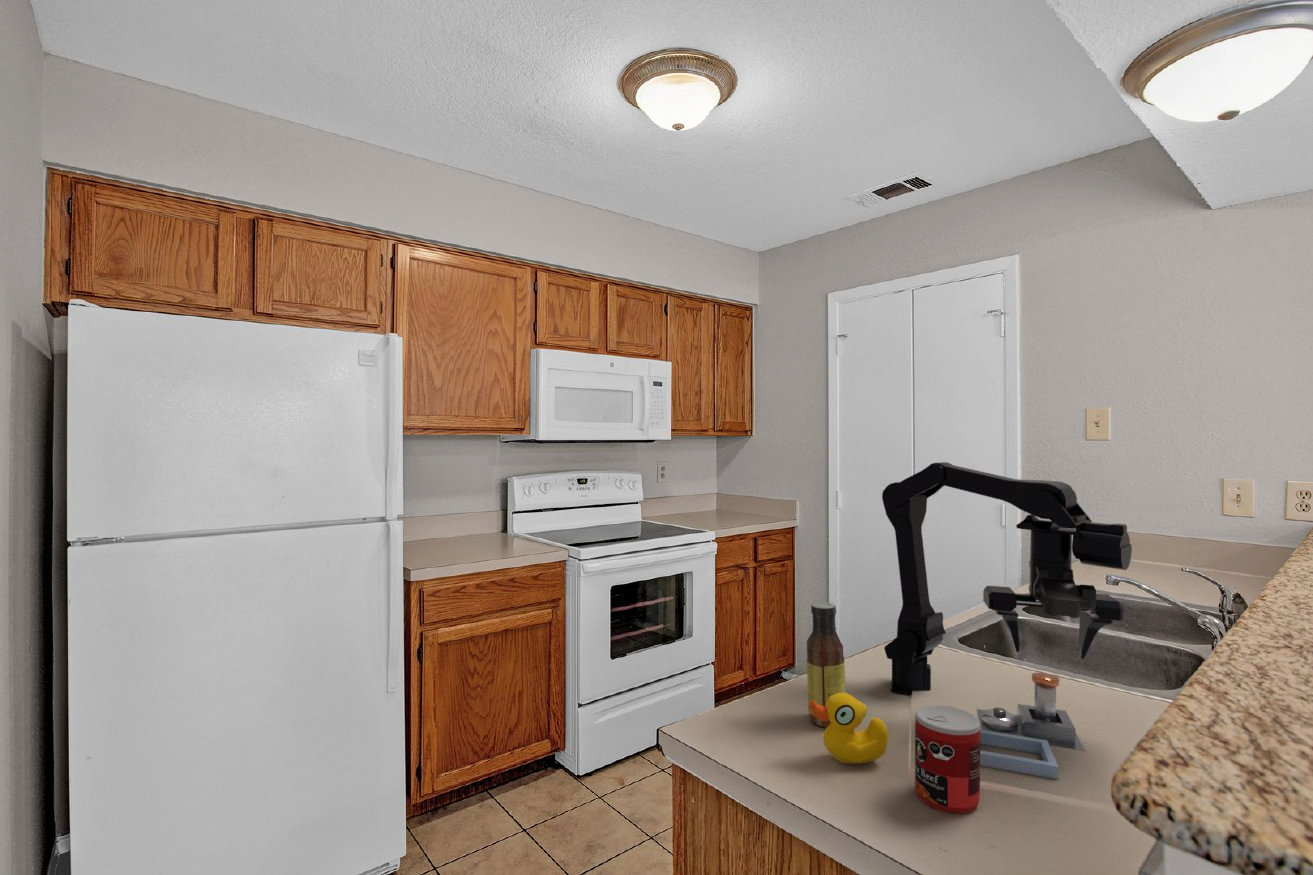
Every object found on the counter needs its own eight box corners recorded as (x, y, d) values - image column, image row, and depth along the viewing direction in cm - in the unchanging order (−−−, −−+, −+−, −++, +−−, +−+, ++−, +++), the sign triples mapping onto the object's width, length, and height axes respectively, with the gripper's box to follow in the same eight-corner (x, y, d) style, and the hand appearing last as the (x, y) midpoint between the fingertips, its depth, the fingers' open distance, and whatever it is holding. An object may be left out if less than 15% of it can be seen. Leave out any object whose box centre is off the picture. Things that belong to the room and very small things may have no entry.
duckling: (812, 768, 93) (812, 700, 93) (807, 750, 99) (807, 686, 99) (892, 772, 92) (892, 703, 92) (882, 753, 98) (883, 688, 98)
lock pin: (1033, 734, 102) (1033, 679, 102) (1029, 724, 106) (1029, 671, 106) (1061, 738, 101) (1061, 683, 101) (1056, 728, 104) (1056, 674, 104)
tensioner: (982, 739, 102) (982, 718, 102) (976, 713, 112) (976, 694, 111) (1085, 756, 97) (1085, 734, 97) (1070, 727, 106) (1070, 707, 106)
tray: (969, 768, 93) (969, 751, 93) (965, 742, 101) (965, 727, 101) (1058, 784, 89) (1058, 766, 89) (1047, 756, 97) (1047, 740, 97)
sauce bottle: (848, 717, 110) (849, 602, 110) (843, 732, 104) (843, 611, 104) (810, 710, 113) (810, 598, 112) (802, 725, 107) (803, 607, 107)
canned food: (904, 783, 89) (905, 705, 89) (959, 780, 90) (959, 703, 90) (932, 816, 82) (933, 731, 82) (992, 813, 82) (993, 728, 82)
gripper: (996, 565, 99) (994, 665, 99) (1139, 574, 93) (1136, 680, 93) (983, 551, 109) (981, 642, 110) (1110, 559, 104) (1108, 654, 104)
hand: (1048, 654), depth 104 cm, fingers open, 9 cm apart
